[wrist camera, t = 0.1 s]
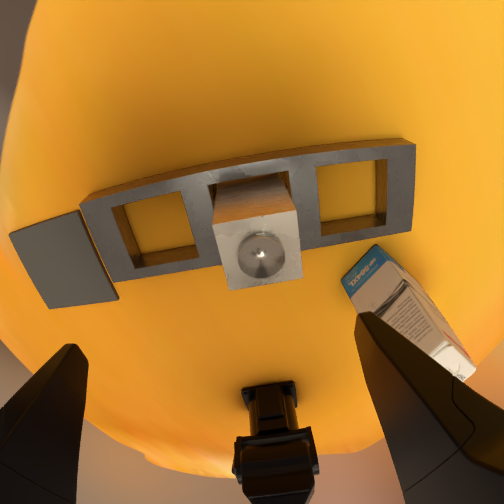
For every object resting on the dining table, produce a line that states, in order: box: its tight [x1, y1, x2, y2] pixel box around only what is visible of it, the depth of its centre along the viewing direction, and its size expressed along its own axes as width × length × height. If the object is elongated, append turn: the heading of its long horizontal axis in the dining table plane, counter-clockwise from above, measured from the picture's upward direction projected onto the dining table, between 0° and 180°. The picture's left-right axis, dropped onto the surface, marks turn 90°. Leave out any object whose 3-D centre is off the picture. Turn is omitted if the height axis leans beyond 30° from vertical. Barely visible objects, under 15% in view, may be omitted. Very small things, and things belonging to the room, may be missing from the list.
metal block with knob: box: [212, 172, 303, 291], centre depth 19 cm, size 4×4×8 cm
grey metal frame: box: [79, 138, 416, 283], centre depth 21 cm, size 7×24×2 cm, turn 99°
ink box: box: [341, 245, 476, 382], centre depth 22 cm, size 9×5×12 cm, turn 52°
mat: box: [9, 210, 119, 309], centre depth 23 cm, size 9×9×1 cm
